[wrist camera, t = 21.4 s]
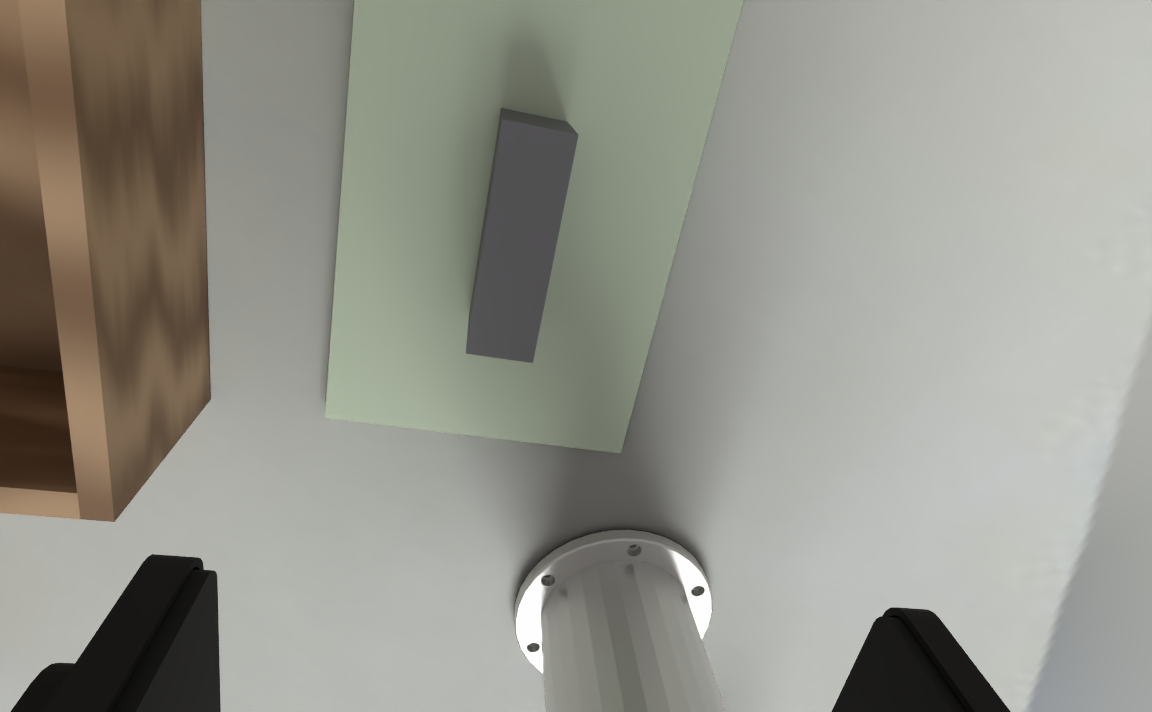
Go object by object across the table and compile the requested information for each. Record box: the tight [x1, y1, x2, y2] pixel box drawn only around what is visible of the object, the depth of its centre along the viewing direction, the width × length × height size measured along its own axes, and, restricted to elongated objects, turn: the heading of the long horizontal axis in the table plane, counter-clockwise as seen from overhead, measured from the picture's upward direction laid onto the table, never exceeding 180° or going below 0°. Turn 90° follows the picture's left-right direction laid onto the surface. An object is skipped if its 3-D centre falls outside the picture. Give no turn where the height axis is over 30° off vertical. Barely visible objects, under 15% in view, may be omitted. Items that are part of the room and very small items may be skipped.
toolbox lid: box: [325, 0, 744, 454], centre depth 31 cm, size 24×16×6 cm
